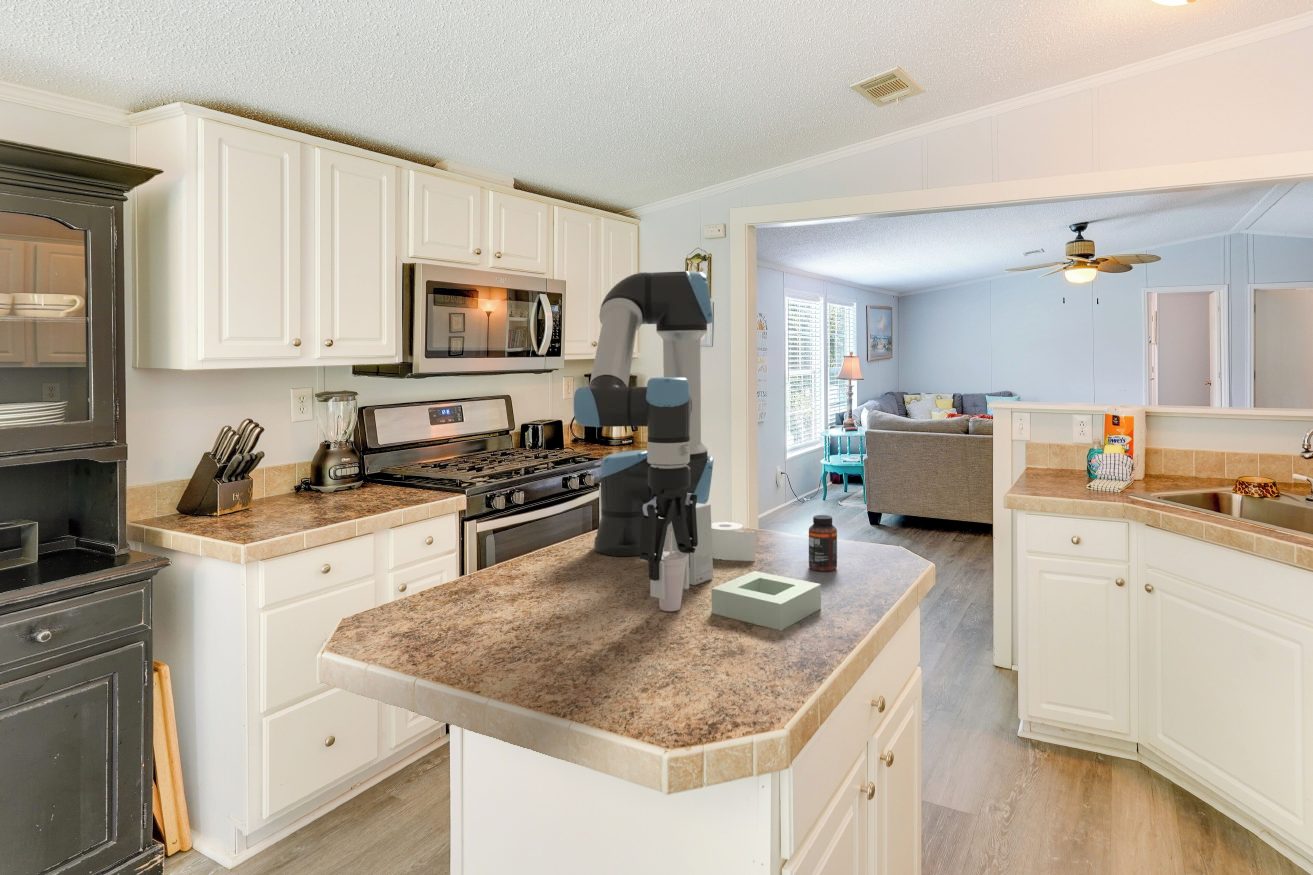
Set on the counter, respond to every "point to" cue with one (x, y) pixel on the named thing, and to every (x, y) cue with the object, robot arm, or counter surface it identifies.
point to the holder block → (766, 599)
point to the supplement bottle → (822, 544)
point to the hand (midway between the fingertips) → (670, 591)
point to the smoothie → (673, 578)
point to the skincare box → (698, 546)
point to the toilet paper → (732, 542)
